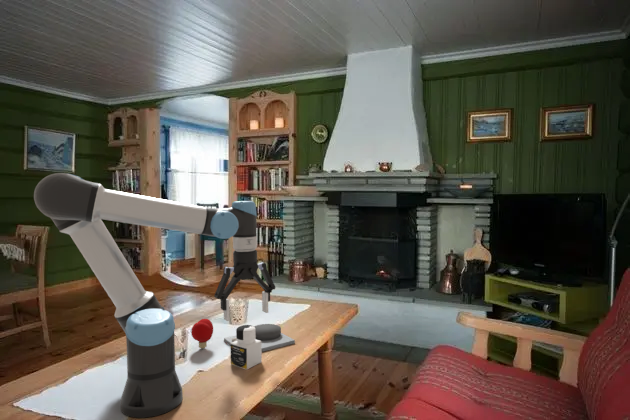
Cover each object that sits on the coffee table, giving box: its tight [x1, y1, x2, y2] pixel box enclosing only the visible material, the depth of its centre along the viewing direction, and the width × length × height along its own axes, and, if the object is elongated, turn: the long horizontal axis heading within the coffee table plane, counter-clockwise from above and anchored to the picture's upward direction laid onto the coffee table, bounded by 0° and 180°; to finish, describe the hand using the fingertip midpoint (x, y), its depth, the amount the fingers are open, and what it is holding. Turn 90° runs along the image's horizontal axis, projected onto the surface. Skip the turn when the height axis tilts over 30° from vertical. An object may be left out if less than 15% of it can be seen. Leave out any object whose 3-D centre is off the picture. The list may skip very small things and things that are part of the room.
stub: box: [254, 323, 282, 341], centre depth 156 cm, size 11×11×2 cm
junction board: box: [223, 332, 296, 353], centre depth 152 cm, size 20×17×2 cm
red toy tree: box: [190, 318, 214, 350], centre depth 146 cm, size 9×7×10 cm
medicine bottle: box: [230, 324, 263, 370], centre depth 134 cm, size 7×7×12 cm
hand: (246, 315), depth 134 cm, fingers open, 13 cm apart
